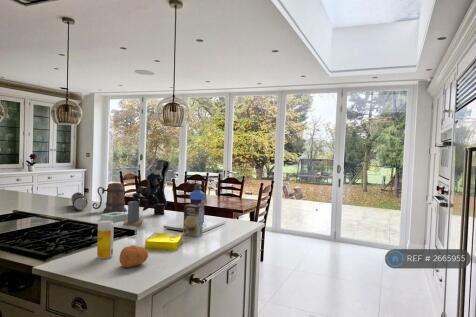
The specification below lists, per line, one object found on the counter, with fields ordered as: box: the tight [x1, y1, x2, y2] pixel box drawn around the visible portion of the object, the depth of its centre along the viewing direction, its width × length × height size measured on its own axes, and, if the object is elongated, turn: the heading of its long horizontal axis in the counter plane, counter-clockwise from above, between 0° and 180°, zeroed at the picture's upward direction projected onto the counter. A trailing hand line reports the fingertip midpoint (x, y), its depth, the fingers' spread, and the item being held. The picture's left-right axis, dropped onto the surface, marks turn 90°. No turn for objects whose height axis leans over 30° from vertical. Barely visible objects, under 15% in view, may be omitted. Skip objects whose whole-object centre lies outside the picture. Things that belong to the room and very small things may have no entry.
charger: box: [127, 200, 140, 223], centre depth 196 cm, size 5×4×12 cm
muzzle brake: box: [71, 192, 88, 211], centre depth 241 cm, size 10×28×10 cm, turn 30°
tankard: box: [92, 182, 128, 214], centre depth 232 cm, size 24×17×20 cm
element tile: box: [144, 232, 183, 252], centre depth 155 cm, size 15×15×5 cm
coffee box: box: [182, 203, 204, 238], centre depth 176 cm, size 9×6×16 cm
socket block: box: [99, 212, 128, 223], centre depth 204 cm, size 12×11×4 cm
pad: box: [122, 219, 144, 227], centre depth 196 cm, size 10×10×2 cm
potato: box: [118, 244, 149, 268], centre depth 128 cm, size 9×11×8 cm
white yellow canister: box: [96, 220, 115, 260], centre depth 136 cm, size 6×6×15 cm
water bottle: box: [189, 183, 206, 224], centre depth 203 cm, size 9×9×25 cm
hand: (137, 209), depth 199 cm, fingers open, 9 cm apart
